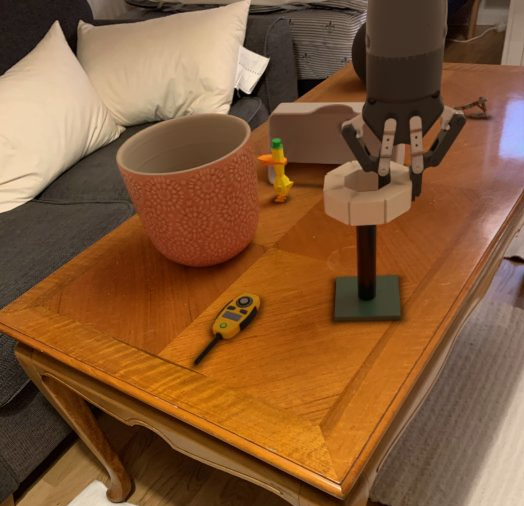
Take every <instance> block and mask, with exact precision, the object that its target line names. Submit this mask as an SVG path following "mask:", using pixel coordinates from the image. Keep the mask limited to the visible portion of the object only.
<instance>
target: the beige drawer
mask: <svg viewBox="0 0 524 506" xmlns="http://www.w3.org/2000/svg"><path fill="white" fill-rule="evenodd" d="M364 104H365V101H348V102H347V101H344V102H343V101H340V102H339V101H337V102H336V101H335V102H333V101H330V102H328V101H327V102H281V103H279V104H278V105H277V107H275V109H274V110H273V111H272V112H271V114H270V115H269V116H268V117H267V155H272V152H271V145H272V144H273V142H272V140H273V139H276V138H279V139H281V144H282V145H283V155H284V157H285V158H286V159H287V162H286V164H284V169H285V168H286V166H287V165H288V163H299V164H300V163H301V164H324V165H325V164H326V165H343V164H345V163H347V162H352V161H356V160H357V159H356V158H355V156H354V154H353V153H352V151H351V149H350V148H349V146H348V144H347V143H346V141H345V139H344V138H343V136H342V122H343V121H344V120H345V119H347V118H349V119H353V118H354V117H356V116H357V115H359V114H361V113H362V108H363V106H364ZM362 139H363V140H364V142H365V144H366V145H367V147H368V149H369V151H370V152H371V154H372V156H376V157H378V155H379V147H380V141H379V140H378V138H377V137H376V136H375V135H374V133H373V132H372V131H371V130H370V128H369V127H368V126H367V125H366V123H365V124H364V125H363V136H362ZM405 153H406V144H398V145H395V146H393V149H392V156H391V160H390V161H392V162H395V163H398V164H401V165H403V166H404V164H405V155H406V154H405ZM275 178H276V172H275V169H274V166H272V165H267V179H268V182H269V183H270V184H271V185H272V184H273V185H274V179H275Z"/></svg>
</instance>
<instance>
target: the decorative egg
mask: <svg viewBox="0 0 524 506" xmlns="http://www.w3.org/2000/svg"><path fill="white" fill-rule="evenodd" d="M365 36H366V21H364V22H363V23H362V24H361V25H360V26H359V28H358V29H357V31H356V33H355V35H354V38H353V40H352V44H351V50H350V51H351V56H350V57H351V63H352V68H353V71H354V73H355V74H356V76H357V77H358V78H359V80H360V81H361V82H362V83H365V84H366V44H365Z"/></svg>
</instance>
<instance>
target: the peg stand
mask: <svg viewBox="0 0 524 506" xmlns="http://www.w3.org/2000/svg"><path fill="white" fill-rule="evenodd" d="M377 230H378V224H376V225H358V226H355V240H356V241H355V243H356V245H355V246H356V275H355V276H336V280H335V297H334V298H335V299H334V315H333V316H334V317H333V318H334V322H357V321H358V322H359V321H360V322H361V321H362V322H363V321H364V322H365V321H401V320H402V311H401V297H400V285H399V275H398V274H383V275H381V274H379V275H378V274H377V258H378V257H377V254H378V253H377V250H378V249H377V242H378V241H377V240H378V239H377V238H378V236H377V235H378V233H377V232H378V231H377Z"/></svg>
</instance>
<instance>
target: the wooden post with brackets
mask: <svg viewBox="0 0 524 506" xmlns="http://www.w3.org/2000/svg"><path fill="white" fill-rule="evenodd" d="M488 101H489V97H487V96H481V95H480V96H479V97H478V99H477V100H474V101H471V102H468V103H466V104H464V105H460V106H456V105H453V106H451V107H450V108H452V109H455V108H457V107H459V108H461V109H462V110H463V111H466V110H467V111H468V110H469V109H472V108H475V107H478V108H479V109H481V110H482V112H480V111H478V112H474V113H473V114H472V115H471V117H472V118H478V119H479V118H481V117H482V116H484V118H485V119H488V118H489V117H490V115H489V110H488V109H487V106H486V105H487V104H486V102H488Z"/></svg>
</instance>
